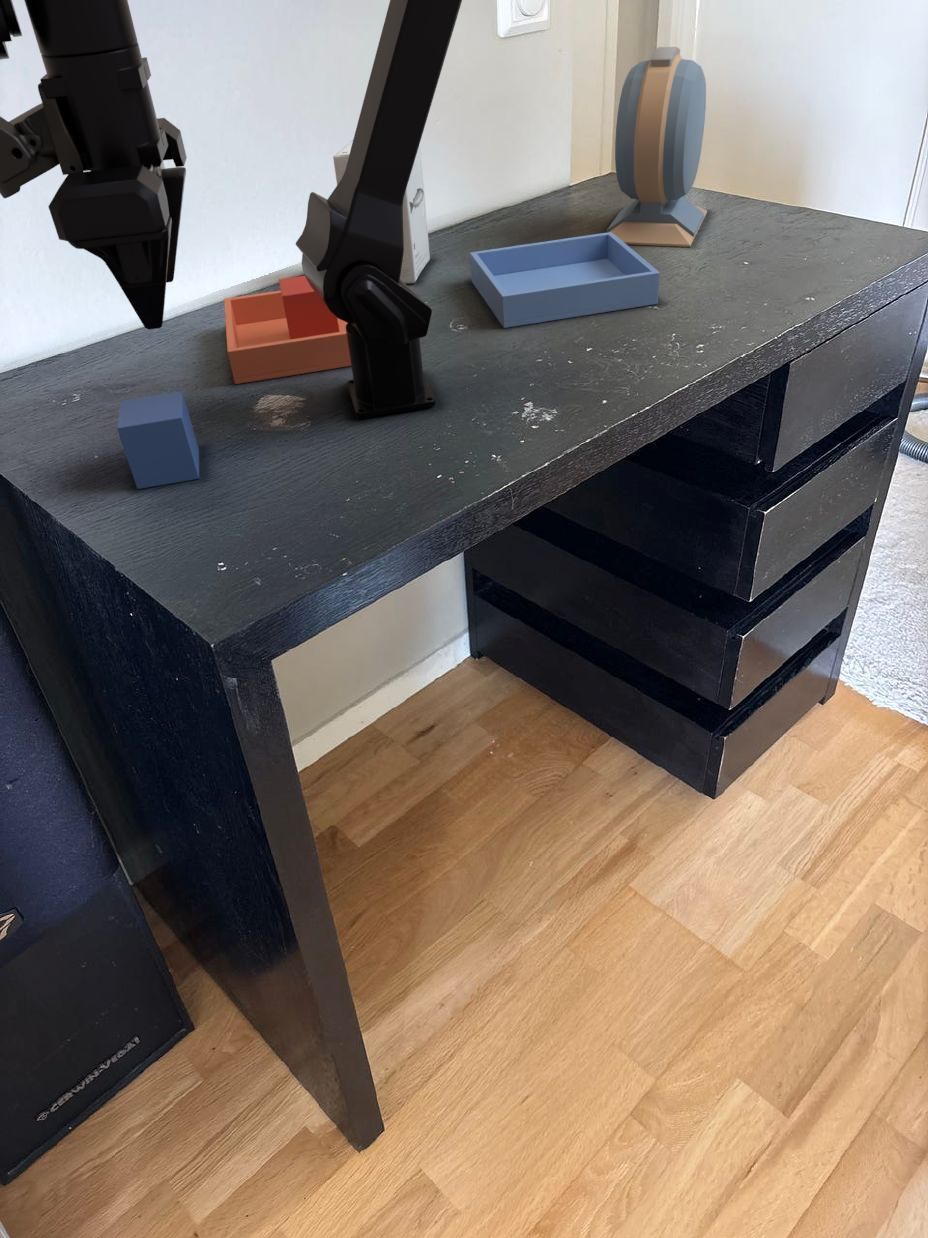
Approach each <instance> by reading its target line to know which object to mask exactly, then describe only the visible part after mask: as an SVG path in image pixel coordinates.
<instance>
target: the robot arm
mask: <svg viewBox="0 0 928 1238" xmlns="http://www.w3.org/2000/svg"><path fill="white" fill-rule="evenodd" d="M462 2H463V0H389V3H388V6H387V10H386V14H385V18H384V22H383V26H382V30H381V33H380V36H379V41H378V45H377V48H376V53H375V55H374V59H373V63H372V68H371V71H370V75H369V78H368V82H367V86H366V90H365V94H364V98H363V101H362V106H361V109H360V113H359V116H358V121H357V124H356V128H355V132H354V135H353V139H352V140H353V143H352V147H351V150H350V154H349V158H348V162H347V166H346V169H345V172H344V175H343V177H342V179H341V181H340V182H339V183H338V185H337V184H336V186H335V188H334V189H333V191H332V192H331V194H330V195H329V196H328V198H326V197H323V196H321V195H320V194H318V193H316V192H314V191H312V192H310V193H309V197H308V202H307V209H306V210H307V212H306V221H305V225H304V228H303V231H302V233H301V235H300V236H299V237H298V238H297V240H296V242H295V247H296V248H297V249H298V250H299V251H300V252H301V269H302V273H303V276H305V277H306V279H307V281H308V282H309V284H310V286H311V287H312V289H313V290H314V291H315V292H316V294H317V295H318V296H319V297H320V299H321V300H322V301H323V302H324V304H325V305H326V306H327V308H328V309H329V310H330V311H331V312H332V313H333V314H334V315H335V316H336V317H337V318H339V319H341V320H343V321H345V322H347V325H346V334H347V341H348V347H349V354H350V360H351V366H350V367H351V373H352V379H349V380H348V381H347V382H346V387H347V390H348V393H349V396H350V400H351V403H352V407H353V410H354V413H355V417H357V418H359V419H363V418H369V417H370V418H371V417H376V416H382V415H387V414H394V413H395V414H396V413H400V412H406V411H411V410H412V411H413V410H418V409H424V408H425V409H426V408H431V407H434V406H435V405H436V404H437V401H436V396H435V395H434V393H433V390H432V387H431V386H430V384H429V382H428V380H427V377H426V375H425V373H424V369H423V359H422V349H421V338H425V337H426V336H428V331H429V327H430V323H431V318H432V314H433V310H432V308H431V307H430V306H429V305H428V304H427V303H426V302H425V301H424V300H423V299H422V298H421V297H420V296H419V295H417V293H415V292H414V291H413V290H412V289H411V288H410V287H409V286H408V285H407V283H404V282H403V281H402V280H401V279H400V274H401V267H402V260H403V253H404V236H403V199H404V195H405V191H406V188H407V185H408V181H409V178H410V174H411V171H412V168H413V164H414V161H415V158H416V154H417V151H418V147H419V144H420V145H421V140H422V137H423V133H424V130H425V127H426V123H427V120H428V117H429V113H430V110H431V106H432V103H433V99H434V96H435V94H436V90H437V87H438V83H439V80H440V77H441V72H442V70H443V66H444V64H445V60H446V56H447V52H448V50H449V47H450V46H449V45H450V42H451V39H452V36H453V32H454V28H455V25H456V22H457V19H458V16H459V12H460V9H461V5H462ZM24 4H25V7H26V10H27V13H28V17H29V20H30V24H31V27H32V30H33V34H34V36H35V40H36V43H37V46H38V49H39V53H40V56H41V59H42V63H43V67H44V69H45V73H46V74H44V76H42V77H41V78H40V79H39V80H40V82H39V83H38V84H37V90H38V94H39V97H40V100H41V103H38V105H35V106H34V107H31V108H30V109H28V110H26V111H24V112H23V113H21V114H20V115H18V116H16V117H14V118H13V119H11V120H9V121H8V120H6V119H5V118H4V117H2V116H0V195H1V197H2V198H3V199H7V198H10V197H12V196H14V195H16V194H18V193H19V192H20V191H21V188H22V186H24V185H26V184H27V183H30V182H31V181H32V180H35V179H36V178H38V177H40V176H42V175H43V174H45V173H47V172H48V171H51V170H53V169H54V168H55V167H57V166H58V165H59V167H60V170H61V174H62V176H66V177H65V178H64V180H63V182H62V183H61V185H60V186H59V187H58V189H57V190H56V192H55V194H54V196H53V198H52V199H51V201H50V203H49V205H48V206H47V207H48V210H49V212H50V217H51V218H52V222H53V226H54V228H55V231H56V234H57V237H58V240H60V241H65V242H68V243H69V245H70V246H72V247H73V248H75V249H77V250H85V251H87V252H88V253H90V254H92V255H93V256H95V257H97V258H99V259H101V261H103V262H104V264H105V265H106V266H107V268H108V270H109V271H110V272H111V274H112V275H113V277H114V279H115V281H116V282H117V283H118V285H119V287H120V289H121V290H122V292H123V294H124V295H125V297H126V299H127V301H128V302H129V304H130V305H131V307H132V308H133V310H134V312H135V313H136V315H137V317H138V319H139V320H140V322H141V324H142V325H143V327H144V328H145V329H147V330H157V329H161V328H162V327H163V325H164V324H163V323H164V313H165V301H166V291H167V283H172V282H173V281H174V278H175V272H176V271H175V269H176V261H177V253H178V243H179V235H180V228H181V227H180V226H181V217H182V210H183V209H182V208H183V200H184V191H185V182H186V176H187V168H186V167H185V165H186V161H187V159H188V157H187V154H186V149H185V144H184V140H183V136H182V133H181V130H180V129H179V128H178V127H177V126H175V125H174V124H173V123H171V122H170V121H169V120H168V119H166V118H165V117H157V113H156V110H155V105H154V101H153V98H152V94H151V90H150V89H151V88H150V85H149V82H148V81H149V80H150V78H151V77H152V74H151V73H152V72H151V68H150V65H149V61H148V57H145V56H144V57H142V54H141V49H140V45H139V42H138V37H137V33H136V30H135V29H136V28H135V26H134V21H133V17H132V12H131V10H130V9H131V8H130V5H129V1H128V0H24ZM11 36H12V37H13V38H17V37H23V32H22V29H21V26H20V22H19V19H18V16H17V13H16V9H15V6H14V2H13V0H0V60H8V59H10V55H9V52H8V47H7V44H6V43H9V42H13V40H12V37H11ZM170 160H172V161H173V163H174V166H175V167H167V168H166V167H165V163H164V161H170Z"/></svg>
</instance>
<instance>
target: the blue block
mask: <svg viewBox="0 0 928 1238" xmlns="http://www.w3.org/2000/svg"><path fill="white" fill-rule="evenodd" d="M118 410H119V411H118V418H117V424H116V431H117V433H118V437H119V439H120V442H121V445H122V448H123V451H124V454H125V456H126V460H127V463H128V466H129V469H130V471H131V474H132V477H133V480H134V483H135V487H136V489H137V490H142V489H146V488H153V487H158V486H159V487H160V486H164V485H165V486H166V485H171V484H176V483H183V482H189V481H194V480H199V479H200V449H199V444H198V441H197V438H196V433H195V431H194V427H193V424H192V420H191V416H190V413H189V410H188V406H187V403H186V399H185V394H184V391H182V390H180V391H174V392H167V393H163V394H162V393H161V394H156V395H148V396H143V397H137V398H129V399H123V400H120V404H119V409H118Z"/></svg>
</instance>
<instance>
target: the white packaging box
mask: <svg viewBox="0 0 928 1238" xmlns="http://www.w3.org/2000/svg"><path fill="white" fill-rule="evenodd" d="M352 143H353V139H352V140H351V141H350V142H349V143H347V144H346V145H345V146H344V147H342V149H340V150H339V151H338V152H337V153H336V154H334V155H333V156H332V158H333V164H334V173H335V179H336V186H337V185H338V183H339V182H340V181H341V179H342V177H343V175H344V172H345V169H346V166H347V162H348V158H349V154H350V150H351V147H352ZM422 162H423V161H422V151H421V143H420V144H419V147H418V151H417V154H416V158H415V161H414V164H413V168H412V171H411V174H410V178H409V181H408V185H407V188H406V191H405V195H404V199H403V236H404V253H403V260H402V267H401V274H400V279H401V280H402V281H403V282H404V283H405V284H416V282H417V279H418V278H419V276H420V275H421V273H422V271H423V270H424V268H425V267H426V265H427V264H428V263H429V262H430V260H431V256H430V255H431V254H430V243H429V232H428V220H427V219H428V218H427V206H426V196H425V195H426V194H425V184H424V174H423V164H422Z"/></svg>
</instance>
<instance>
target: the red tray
mask: <svg viewBox="0 0 928 1238" xmlns="http://www.w3.org/2000/svg"><path fill="white" fill-rule="evenodd" d="M223 305H224V321H225V335H226V348H227V351H226V352H227V355H228V360H229V365H230V368H231V372H232V376H233V380H234V384H235V385H240V384H246V383H251V382H252V383H253V382H258V381H263V380H264V381H265V380H272V379H276V378H277V379H278V378H284V377H290V376H298V375H301V374H310V373H314V372H321V371H328V370H334V369H341V368H347V367H351V360H350V354H349V347H348V341H347V334H346V325H347V322H345V321H343V320H341V319H339V318H338V324H339V331H340V332H336V333H330V334H323V335H317V336H310V337H304V338H297V339H291V340H290V335H289V330H288V325H287V320H286V315H285V310H284V304H283V299H282V294H281V290H275V291H269V292H261V293H253V294H247V295H241V296H233V297H227V298H223Z"/></svg>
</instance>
